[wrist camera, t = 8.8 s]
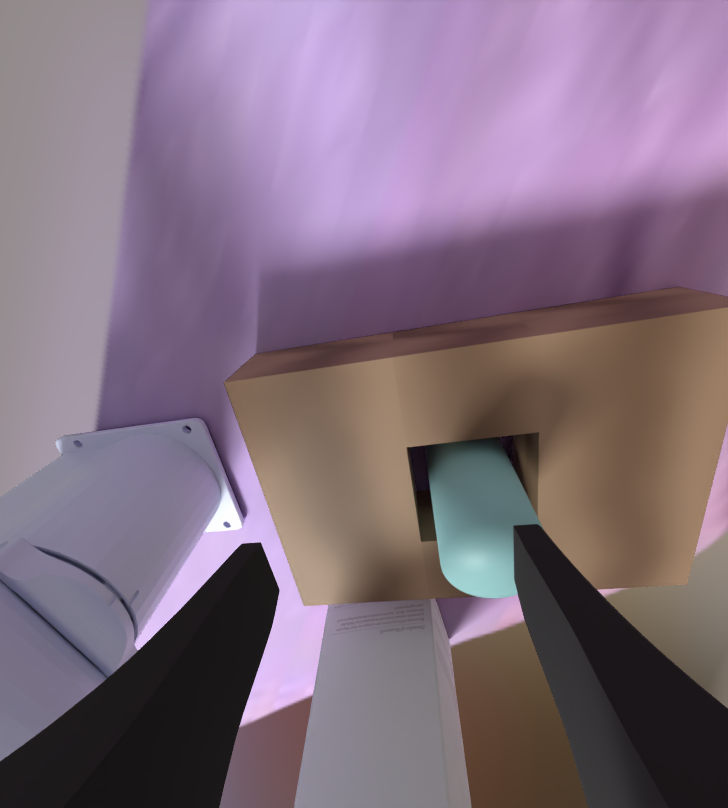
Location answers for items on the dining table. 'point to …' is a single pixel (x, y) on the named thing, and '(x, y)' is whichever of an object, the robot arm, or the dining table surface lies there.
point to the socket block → (495, 417)
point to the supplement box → (384, 712)
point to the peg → (477, 514)
